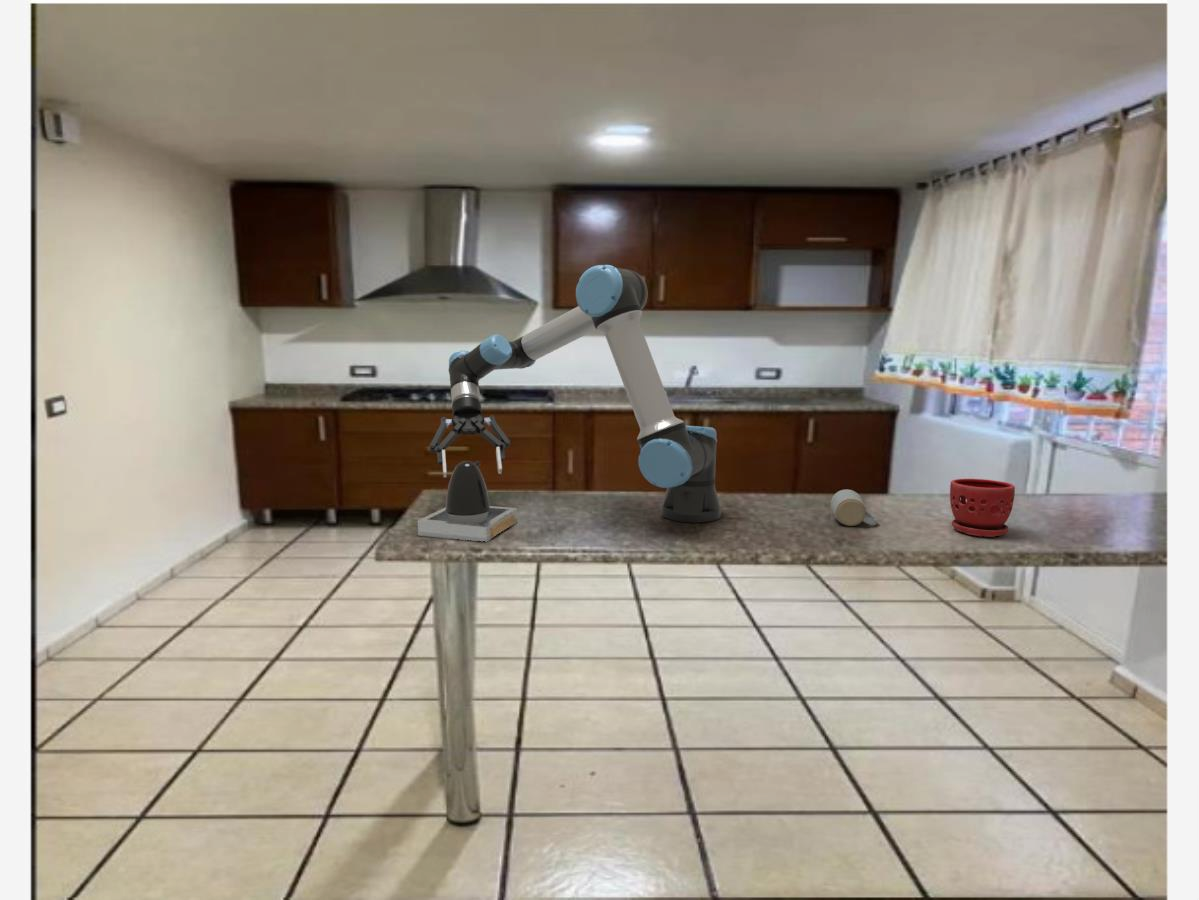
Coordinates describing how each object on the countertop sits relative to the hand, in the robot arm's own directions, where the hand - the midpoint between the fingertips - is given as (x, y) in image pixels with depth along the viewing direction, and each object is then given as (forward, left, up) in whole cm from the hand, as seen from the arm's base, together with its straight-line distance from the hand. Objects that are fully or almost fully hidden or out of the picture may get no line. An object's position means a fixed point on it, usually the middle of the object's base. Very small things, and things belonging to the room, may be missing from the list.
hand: (472, 473), depth 166 cm
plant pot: (-119, -23, -11) cm, 122 cm away
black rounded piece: (-4, +11, -10) cm, 15 cm away
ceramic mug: (-92, -22, -11) cm, 95 cm away
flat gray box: (-4, +11, -11) cm, 16 cm away
